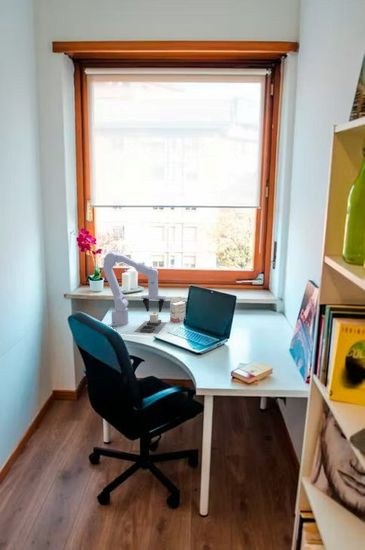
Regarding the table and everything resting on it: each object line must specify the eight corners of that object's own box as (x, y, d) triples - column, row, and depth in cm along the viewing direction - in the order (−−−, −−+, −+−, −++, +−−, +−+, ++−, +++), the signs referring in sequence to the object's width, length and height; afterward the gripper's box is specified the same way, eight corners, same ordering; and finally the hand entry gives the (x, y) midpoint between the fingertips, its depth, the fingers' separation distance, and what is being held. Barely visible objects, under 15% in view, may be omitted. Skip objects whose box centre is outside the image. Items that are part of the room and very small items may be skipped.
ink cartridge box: (175, 323, 245) (174, 300, 242) (170, 321, 249) (169, 298, 246) (186, 320, 250) (185, 297, 247) (180, 318, 254) (180, 295, 251)
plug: (149, 324, 241) (149, 313, 240) (152, 322, 245) (151, 311, 244) (156, 325, 240) (156, 314, 239) (158, 322, 244) (158, 312, 243)
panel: (133, 333, 229) (133, 329, 229) (145, 322, 248) (145, 318, 248) (157, 335, 226) (157, 330, 226) (167, 323, 245) (167, 319, 245)
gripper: (139, 290, 236) (140, 312, 239) (163, 291, 233) (163, 314, 236) (143, 287, 243) (144, 309, 246) (166, 288, 240) (167, 310, 242)
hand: (153, 311), depth 241 cm, fingers open, 7 cm apart
